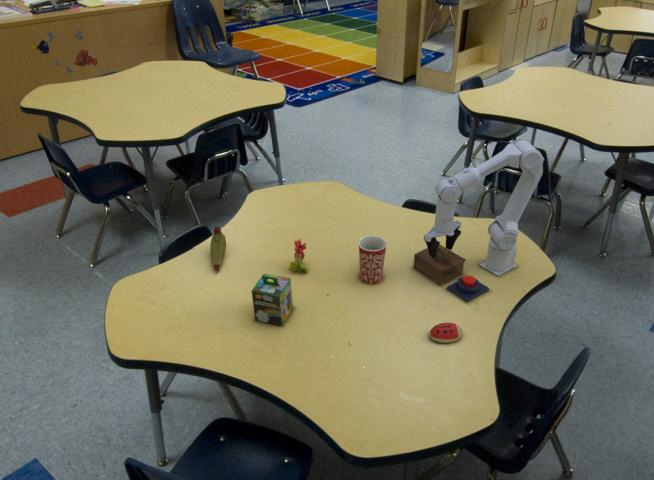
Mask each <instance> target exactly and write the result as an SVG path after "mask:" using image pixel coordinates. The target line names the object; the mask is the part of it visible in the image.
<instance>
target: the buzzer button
mask: <svg viewBox="0 0 654 480" xmlns="http://www.w3.org/2000/svg"><path fill="white" fill-rule="evenodd" d="M462 277H463V280H462V284H463V285H464V286H466V287H474V286H475V282H476V279H477V278H475V277H474V276H472V275H464V276H462Z"/></svg>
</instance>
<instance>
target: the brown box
mask: <svg viewBox="0 0 654 480" xmlns="http://www.w3.org/2000/svg"><path fill="white" fill-rule="evenodd" d="M464 267H465V261H464V262H462V263H460V264H458V265H456V266H454V267H452V268H450V269H448V270H446V271H444V272H440V271H439V270H437V269H435V268H434V267H432V266H431V265H429V264H427V263H426V262H424V261H423V260H421V259H419V258H418V257H416V256H415V255H414V256H413V267H412V268H413V270H414V271H416V272H418V273H419V274H421V275H422V276H424V277H426V278H427V279H429V280H431V281H432V282H434V283H435V284H437V285H438V286H443V285H445V284H447V283H449V282H451V281H453V280H455V279H456V278H458V277H459V278H460V277H462V275H463V274H464Z"/></svg>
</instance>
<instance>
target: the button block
mask: <svg viewBox="0 0 654 480" xmlns="http://www.w3.org/2000/svg"><path fill="white" fill-rule="evenodd" d="M463 277H464V276H460V277H459V278H458V279H457V281H454V282H453V283H451V284H449V285H447V286H446V290H447V291H448V292H450V293H452V294H453V295H454V296H456V297H458V298H459V299H461V300H462V301H464V302H465V303H469V302H471V301H473V300H475V299H476V298H479V297H480V296H483V295H484V294H486V293H488V292H489V290H490V288H489V286H487V285H485V284H483V283H481V282H480V281H479V280H478V279H477V278H475V279H476V282H475V286H474V287H466V286H464V285H463V284H462V280H463Z"/></svg>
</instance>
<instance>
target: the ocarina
mask: <svg viewBox="0 0 654 480" xmlns="http://www.w3.org/2000/svg"><path fill="white" fill-rule="evenodd" d="M226 249H227V241H226V235H225V234H224V233H223V231H222V230H221V227H220V226H214V228H213V234H212V236H211V240H210V249H209V250H210V256H211V257H210V259H211V262H212V267H213V269H214V271H215V272H218V271H219V270H220V269H221V267H222V263H223V260H224V259H225V258H224V257H225V255H226Z"/></svg>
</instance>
